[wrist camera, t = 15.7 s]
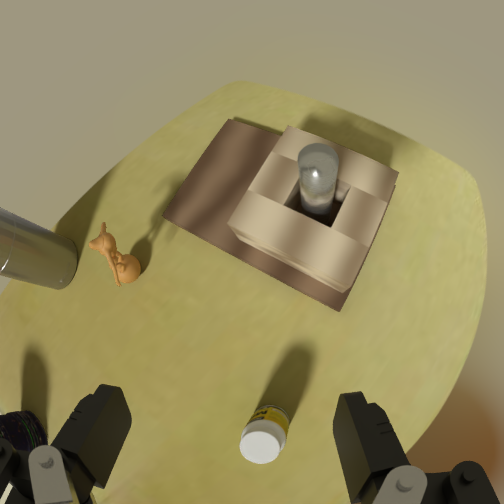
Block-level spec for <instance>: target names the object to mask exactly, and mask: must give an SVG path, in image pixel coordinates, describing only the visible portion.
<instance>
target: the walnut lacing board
mask: <svg viewBox="0 0 504 504" xmlns="http://www.w3.org/2000/svg"><path fill="white" fill-rule="evenodd" d="M280 137H281V136H280V135H277V134H274V133H272V132H269V131H266V130H263V129H260V128H257V127H254V126H250V125H247V124H244V123H241V122H238V121H234V120H231V119H228V120H227V121H226V123H225V124H224V125H223V127H222V128H221V129H220V131H219V132H218V133H217V135H216V136H215V137H214V139H213V140H212V142H211V143H210V144H209V146H208V147H207V149H206V150H205V151H204V153H203V154H202V156H201V157H200V159H199V160H198V161H197V163H196V164H195V166H194V167H193V169H192V170H191V172H190V173H189V175H188V176H187V178H186V179H185V181H184V182H183V184H182V185H181V187H180V188H179V190H178V191H177V193H176V195H175V196H174V198H173V199H172V201H171V202H170V204H169V206H168V207H167V209H166V210H165V212H164V214H163V215H162V216H163V217H164V218H165V219H167V220H168V221H170V222H172V223H174V224H176V225H178V226H179V227H181V228H183V229H185V230H187V231H188V232H190V233H192V234H194V235H196V236H198V237H199V238H201V239H203V240H205V241H207V242H209V243H210V244H212V245H214V246H216V247H218V248H220V249H221V250H223V251H225V252H227V253H229V254H231V255H233V256H234V257H236V258H238V259H240V260H242V261H244V262H246V263H247V264H249V265H251V266H253V267H255V268H257V269H259V270H260V271H262V272H264V273H266V274H268V275H270V276H272V277H273V278H275V279H277V280H279V281H281V282H283V283H285V284H287V285H288V286H290V287H292V288H294V289H296V290H298V291H300V292H302V293H304V294H305V295H307V296H309V297H311V298H313V299H315V300H317V301H319V302H321V303H322V304H324V305H326V306H328V307H330V308H332V309H334V310H336V311H338V312H340V310H341V309H342V307H343V305H344V303H345V301H346V299H347V297H348V295H349V293H350V291H351V289H352V287H353V285H354V283H355V281H356V278H357V276H358V274H359V272H360V270H361V268H362V266H363V264H364V261H365V259H366V257H367V255H368V253H369V250H370V248H371V246H372V243H373V241H374V239H375V237H376V234H377V232H378V229H379V227H380V225H381V222H382V220H383V217H384V215H385V212H386V210H387V207H388V205H389V202H390V199H391V197H392V194H393V191H394V189H395V186H396V185H394V188H393V190H392V193H391V196H390V198H389V201H388V204H387V206H386V209H385V211H384V214H383V216H382V219H381V221H380V223H379V226H378V228H377V231H376V233H375V235H374V238H373V240H372V242H371V245H370V247H369V249H368V251H367V254H366V256H365V258H364V260H363V262H362V265H361V267H360V269H359V271H358V273H357V275H356V277H355V279H354V281H353V283H352V285H351V287H350V288H349V289H347V290H346V291H345V292H344V293H341V292H340V291H338V290H336V289H334V288H332V287H330V286H328V285H326V284H324V283H322V282H320V281H318V280H317V279H315V278H313V277H311V276H309V275H307V274H305V273H303V272H301V271H299V270H297V269H295V268H293V267H292V266H290V265H288V264H286V263H284V262H282V261H280V260H278V259H276V258H274V257H272V256H270V255H268V254H266V253H264V252H263V251H261V250H259V249H257V248H255V247H253V246H251V245H249V244H247V243H245V242H243V241H241V240H239V238H238V237H237V236H236V234H235V233H234V232H233V230H232V229H231V228H230V226H229V225H228V224H227V222H228V221H229V219H230V217H231V216H232V214H233V212H234V211H235V209H236V208H237V206H238V204H239V203H240V201H241V199H242V198H243V196H244V194H245V193H246V191H247V190H248V188H249V186H250V185H251V183H252V181H253V180H254V178H255V177H256V175H257V173H258V172H259V170H260V169H261V167H262V165H263V164H264V162H265V161H266V159H267V158H268V156H269V154H270V153H271V151H272V150H273V148H274V147H275V145H276V143H277V142H278V140H279V139H280ZM341 207H342V206H341V205H339V204H337V203H335V202H333V203H332V209H331V215H330V220H329V223H328V224H327V225H326V226H328V227H330V228H331V227H332V225H333V223H334V221H335V219H336V217H337V215H338V213H339V211H340V209H341ZM295 211H296V212H299V213H301V214H302V204H301V200H300V202H299V204H298V206H297V208H296V209H295Z"/></svg>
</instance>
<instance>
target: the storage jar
mask: <svg viewBox="0 0 504 504" xmlns="http://www.w3.org/2000/svg"><path fill="white" fill-rule="evenodd" d="M0 438H4V439H6V440H8V441H9V442H10V443H11V445H12V446H13V447H14V449H17V450H22V451H29V452H32V451H33V450H34V449H35V448H37V447H39V446H42V445H48V442H47V437H46V434H45V431H44V429H43V427H42V425H41V423H40V421H39V420H38V418H37V417H36V416H35V415H34V414H33V413H32V412H30V411H28V410H26V411H15V412H10V413H7V414H6V415H0Z"/></svg>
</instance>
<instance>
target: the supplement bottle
mask: <svg viewBox="0 0 504 504" xmlns="http://www.w3.org/2000/svg"><path fill="white" fill-rule="evenodd" d="M288 429H289V417H288V415H287V413H286V412H285V411H284V410H283V409H281V408H280V407H277V406H273V405H267V406H263V407H261V408H259V409H257V410H256V411H255V412H254V414H253V415H252V417H251V419H250V420H249V422H248V423H247V425H246V426H245V428H244V430H243V432H242V435H241V442H240V451H241V453H242V455H243V456H244V457H245V458H246V459H248V460H249V461H251V462H254V463H259V464H263V463H268V462H271V461H273V460H274V459H275V458H276V457H277V456H278V454H279V452H280V451H281V450H282V449H283V447H284V446H285V443H286V439H287V434H288Z"/></svg>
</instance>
